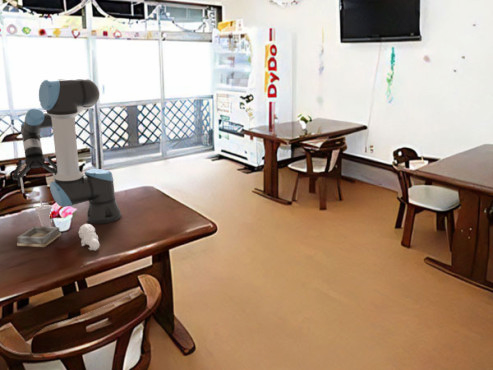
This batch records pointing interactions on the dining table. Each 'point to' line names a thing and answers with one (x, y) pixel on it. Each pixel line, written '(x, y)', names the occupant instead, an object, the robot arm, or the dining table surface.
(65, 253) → the dining table surface
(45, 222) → the smoothie
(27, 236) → the pocket plate
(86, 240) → the white lumpy figurine
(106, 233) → the dining table surface
